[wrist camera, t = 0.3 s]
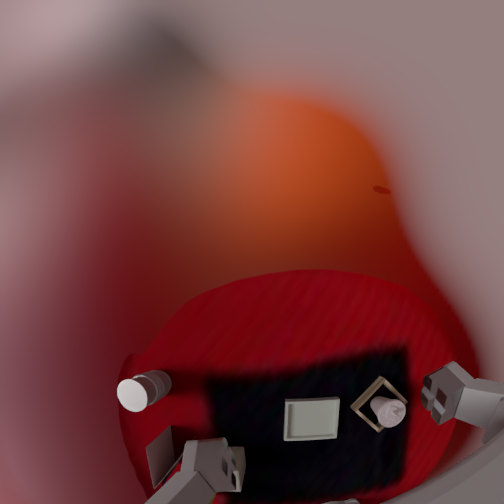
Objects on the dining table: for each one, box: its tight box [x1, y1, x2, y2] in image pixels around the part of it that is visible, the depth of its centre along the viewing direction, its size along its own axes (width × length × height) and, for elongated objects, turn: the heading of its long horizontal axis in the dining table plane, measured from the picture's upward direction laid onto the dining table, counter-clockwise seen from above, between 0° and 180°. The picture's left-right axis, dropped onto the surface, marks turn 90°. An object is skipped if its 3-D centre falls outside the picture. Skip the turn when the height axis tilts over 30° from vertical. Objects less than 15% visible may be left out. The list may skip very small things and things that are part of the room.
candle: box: [117, 370, 172, 412], centre depth 52 cm, size 7×7×15 cm
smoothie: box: [370, 396, 406, 427], centre depth 48 cm, size 6×6×14 cm
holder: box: [350, 376, 408, 432], centre depth 53 cm, size 10×10×3 cm
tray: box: [284, 397, 340, 441], centre depth 54 cm, size 12×10×2 cm
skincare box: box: [229, 447, 246, 492], centre depth 48 cm, size 6×4×12 cm
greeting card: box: [146, 425, 197, 489], centre depth 48 cm, size 11×7×15 cm, turn 147°
